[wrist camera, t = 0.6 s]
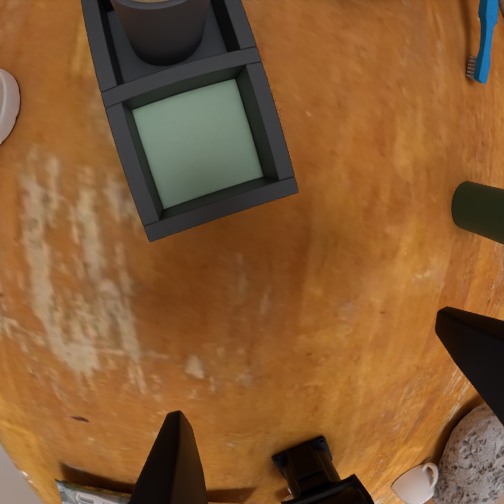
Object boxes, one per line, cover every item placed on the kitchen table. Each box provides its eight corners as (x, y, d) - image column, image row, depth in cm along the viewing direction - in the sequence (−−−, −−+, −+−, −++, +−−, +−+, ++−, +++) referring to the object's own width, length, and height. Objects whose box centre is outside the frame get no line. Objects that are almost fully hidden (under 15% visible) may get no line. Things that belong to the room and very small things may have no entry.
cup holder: (279, 185, 22) (299, 192, 18) (155, 227, 21) (149, 243, 17) (214, -24, 16) (221, -53, 12) (93, 10, 15) (78, -13, 11)
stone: (459, 501, 40) (403, 516, 40) (466, 407, 51) (413, 415, 52) (528, 513, 20) (466, 543, 20) (538, 389, 31) (482, 404, 32)
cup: (424, 506, 39) (408, 485, 45) (456, 474, 37) (438, 453, 43) (399, 515, 36) (384, 492, 43) (434, 483, 34) (415, 459, 41)
